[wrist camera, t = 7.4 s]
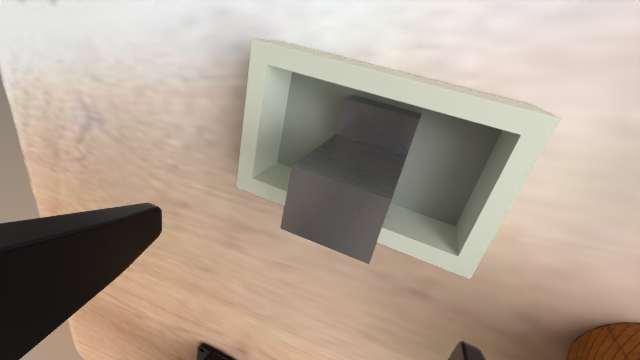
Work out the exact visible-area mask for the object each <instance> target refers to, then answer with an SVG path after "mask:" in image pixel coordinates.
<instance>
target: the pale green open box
mask: <svg viewBox="0 0 640 360" xmlns="http://www.w3.org/2000/svg"><path fill="white" fill-rule="evenodd" d="M351 95H356V96H359V97H363V98H367V99H370V100H374V101H378V102H381V103H385V104H389V105H392V106H396V107H400V108H403V109H407V110H411V111H414V112H418V113H422V115H421V118H420V120H419V123H418V126H417V129H416V132H415V135H414V138H413V140H412V143H411V146H410V149H409V152H408V155H407V158H406V160H405V163H404V166H403V169H402V172H401V175H400V178H399V180H398V183H397V186H396V189H395V192H394V195H393V198H392V200H391V203H390V206H389V209H388V212H387V215H386V217H385V220H384V223H383V226H382V229H381V231H380V234H379V237H378V240H377V243H379V244H382V245H384V246H387V247H389V248H392V249H395V250H397V251H400V252H402V253H405V254H407V255H410V256H412V257H415V258H417V259H420V260H423V261H425V262H428V263H430V264H433V265H435V266H438V267H440V268H443V269H445V270H448V271H451V272H453V273H456V274H458V275H461V276H463V277H466V278H468V279H471V277H472V275H473V274H474V272H475V270H476V268H477V267H478V265H479V263H480V261H481V259H482V258H483V256H484V254H485V252H486V251H487V249H488V247H489V245H490V243H491V242H492V240H493V238H494V236H495V235H496V233H497V231H498V229H499V227H500V226H501V224H502V222H503V220H504V219H505V217H506V215H507V213H508V211H509V210H510V208H511V206H512V204H513V203H514V201H515V199H516V197H517V195H518V194H519V192H520V190H521V188H522V187H523V185H524V183H525V181H526V179H527V178H528V176H529V174H530V172H531V171H532V169H533V167H534V165H535V163H536V162H537V160H538V158H539V156H540V155H541V153H542V151H543V149H544V147H545V146H546V144H547V142H548V140H549V139H550V137H551V135H552V133H553V131H554V130H555V128H556V126H557V124H558V123H559V121H560V119H561V118H559V117H557V116H555V115H553V114H551V113H549V112H547V111H545V110H543V109H541V108H539V107H537V106H534V105H530V104H526V103H522V102H518V101H514V100H510V99H506V98H502V97H498V96H494V95H490V94H486V93H483V92H479V91H475V90H471V89H467V88H463V87H459V86H455V85H451V84H447V83H443V82H439V81H435V80H431V79H428V78H424V77H420V76H416V75H412V74H408V73H404V72H400V71H396V70H392V69H388V68H384V67H380V66H376V65H373V64H369V63H365V62H361V61H357V60H353V59H349V58H345V57H341V56H337V55H333V54H329V53H325V52H321V51H318V50H314V49H310V48H306V47H302V46H298V45H294V44H290V43H286V42H280V41H271V40H261V39H252V42H251V51H250V61H249V70H248V80H247V89H246V99H245V108H244V118H243V127H242V137H241V146H240V156H239V165H238V175H237V184H236V187H237V188H239V189H242V190H244V191H247V192H249V193H252V194H255V195H257V196H260V197H262V198H265V199H267V200H270V201H272V202H275V203H277V204H280V205H283V206H285V201H286V195H287V190H288V184H289V178H290V173H291V167H292V165H293V164H295V163H296V162H298V161H299V160H300V159H302V158H303V157H305V156H306V155H307V154H309V153H310V152H312V151H313V150H314V149H316V148H317V147H319V146H320V145H321V144H323V143H324V142H326V141H327V140H328V139H330V138H331V137H333V136H334V135H335V134H336V131H337V126H338V122H339V118H340V113H341V109H342V105H343V101H344V98H346V97H348V96H351Z"/></svg>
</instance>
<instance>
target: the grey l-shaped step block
mask: <svg viewBox="0 0 640 360" xmlns="http://www.w3.org/2000/svg"><path fill="white" fill-rule="evenodd" d="M421 115H422V113H418V112H414V111H411V110H407V109H403V108H400V107H396V106H392V105H389V104H385V103H381V102H378V101H374V100H370V99H367V98H363V97H359V96H356V95H351V96H348V97H346V98H344V101H343V105H342V109H341V113H340V118H339V122H338V126H337V131H336V134H335V135H334V136H333V137H331V138H330V139H328V140H327V141H326V142H324V143H323V144H321V145H320V146H319V147H317V148H316V149H314V150H313V151H312V152H310V153H309V154H307V155H306V156H305V157H303V158H302V159H300V160H299V161H298V162H296V163H295V164H293V165H292V167H291V173H290V178H289V184H288V190H287V195H286V201H285V206H284V212H283V218H282V223H281V229H284V230H286V231H288V232H291V233H293V234H296V235H298V236H301V237H303V238H306V239H308V240H311V241H313V242H316V243H318V244H321V245H323V246H326V247H328V248H331V249H333V250H335V251H338V252H340V253H343V254H345V255H348V256H350V257H353V258H355V259H358V260H360V261H363V262H365V263H368V264H369V263H370V260H371V257H372V254H373V251H374V248H375V246H376V243H377V240H378V237H379V234H380V231H381V229H382V226H383V223H384V220H385V217H386V215H387V212H388V209H389V206H390V203H391V200H392V198H393V195H394V192H395V189H396V186H397V183H398V180H399V178H400V175H401V172H402V169H403V166H404V163H405V160H406V158H407V155H408V152H409V149H410V146H411V143H412V140H413V138H414V135H415V132H416V129H417V126H418V123H419V120H420V118H421Z"/></svg>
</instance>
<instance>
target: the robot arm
mask: <svg viewBox="0 0 640 360" xmlns="http://www.w3.org/2000/svg"><path fill="white" fill-rule="evenodd" d="M161 231H162V211H161V209H160V208H159V207H158V206H155V205H153V204H151V203H142V204H135V205H128V206H121V207H114V208H107V209H100V210H93V211H86V212H79V213H71V214H64V215H57V216H50V217H43V218H37V219H30V220H22V221H16V222H8V223H1V224H0V360H19V359H20V358H22V357H23V356H24V355H25V354H26V353H28V352H29V351H30V350H31V349H32V348H34V347H35V346H36V345H37V344H38V343H40V342H41V341H42V340H43V339H44V338H46V337H47V336H48V335H49V334H50V333H51V332H53V331H54V330H55V329H56V328H57V327H59V326H60V325H61V324H62V323H63V322H65V321H66V320H67V319H68V318H69V317H71V316H72V315H73V314H74V313H75V312H77V311H78V310H79V309H80V308H81V307H82V306H84V305H85V304H86V303H87V302H88V301H90V300H91V299H92V298H93V297H94V296H96V295H97V294H98V293H99V292H100V291H102V290H103V289H104V288H105V287H106V286H107V285H109V284H110V283H111V282H112V281H113V280H115V279H116V278H117V277H118V276H119V275H120V274H121V273H122V272H124V271H125V270H126V269H127V268H128V267H129V266H130V265H131V264H132V263H133V262H134V261H135V260H136V259H137V258H138V257H139V256H140V255H141V254H142V253H143V252H144V251H145V250H146V249H147V248H148V247H149V246H150V245H151V244H152V243H153V242H154V241H155V240H156V239H157V238H158V236H159V235H160V233H161ZM197 360H233V359H231V358H229V357H227V356H226V355H224V354H222V353H220V352H218V351H216V350H215V349H213V348H211V347H209V346H207V345H205V344H203V343H202V344H201V345H200V346H199V347H198V355H197ZM448 360H486V359H485V358H484V356H483V354H482V353H481V351H480V350H479V349H478V348H477V347H475V346H473V345H471V344H468V343H466V342H464V341H461V342H459V343H458V344H457V346H456V347H455V349H454V351H453V352H452V354H451V355H450V357H449V359H448Z"/></svg>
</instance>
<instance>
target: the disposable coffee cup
mask: <svg viewBox="0 0 640 360" xmlns="http://www.w3.org/2000/svg"><path fill="white" fill-rule="evenodd" d="M568 360H640V324H633V323H624V324H614V325H609V326H605V327H601V328H597V329H595V330H592V331H590V332H588V333H586V334H584V335H583V336H581V337H580V338H579V339H578V340H577V341H576V342H575V343H574V344H573V345H572V347H571V348H570V350H569V354H568Z"/></svg>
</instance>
